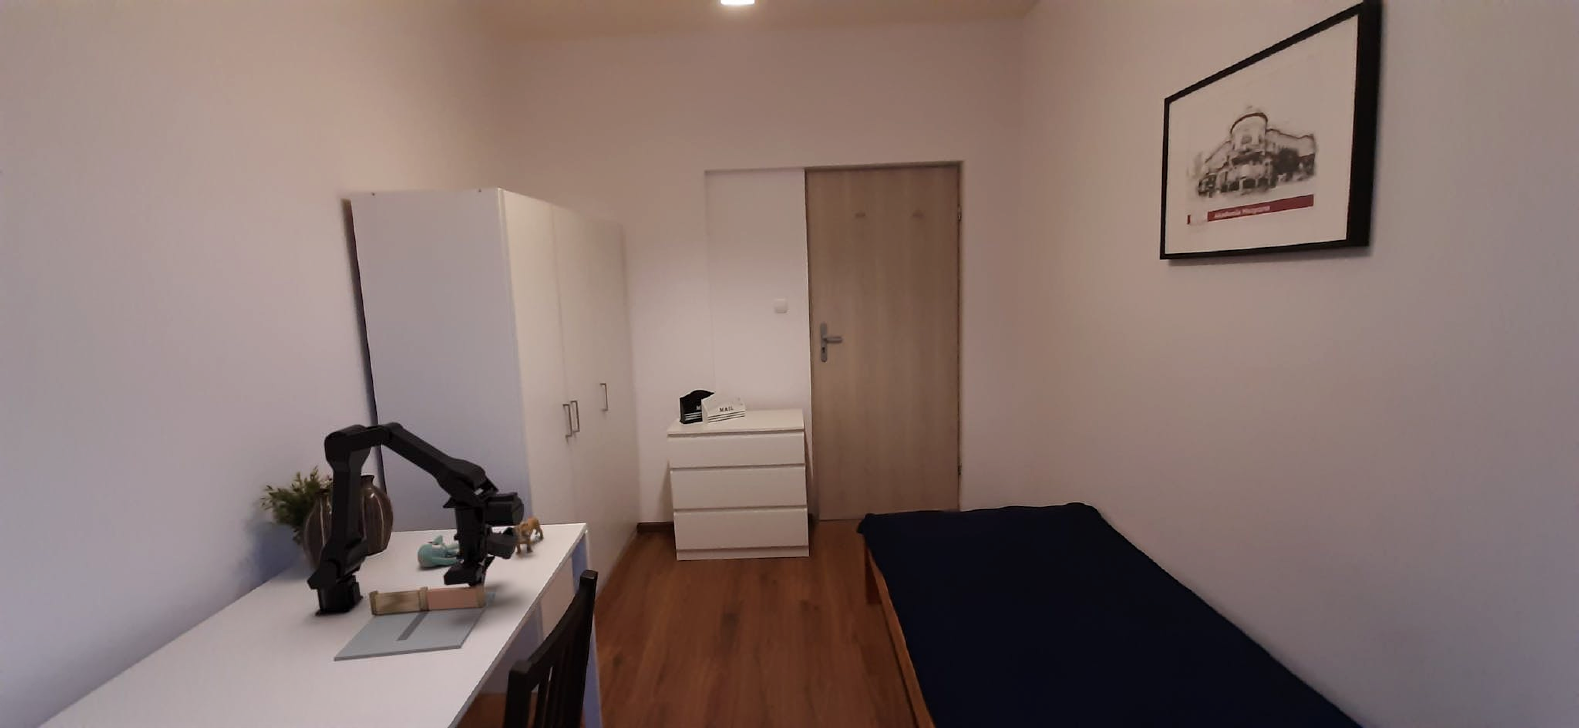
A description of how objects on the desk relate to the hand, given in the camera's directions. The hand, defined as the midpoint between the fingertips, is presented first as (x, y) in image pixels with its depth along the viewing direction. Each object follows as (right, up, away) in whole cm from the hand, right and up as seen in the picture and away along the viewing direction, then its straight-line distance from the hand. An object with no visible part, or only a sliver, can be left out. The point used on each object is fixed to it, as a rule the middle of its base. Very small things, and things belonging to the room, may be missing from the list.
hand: (479, 594), depth 136 cm
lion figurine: (0, +2, +27) cm, 27 cm away
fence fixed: (-15, -2, -4) cm, 16 cm away
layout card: (-8, -3, -8) cm, 12 cm away
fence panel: (-4, -2, -3) cm, 5 cm away
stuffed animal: (-19, 0, +22) cm, 29 cm away
